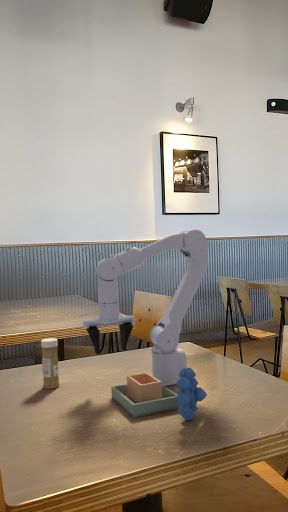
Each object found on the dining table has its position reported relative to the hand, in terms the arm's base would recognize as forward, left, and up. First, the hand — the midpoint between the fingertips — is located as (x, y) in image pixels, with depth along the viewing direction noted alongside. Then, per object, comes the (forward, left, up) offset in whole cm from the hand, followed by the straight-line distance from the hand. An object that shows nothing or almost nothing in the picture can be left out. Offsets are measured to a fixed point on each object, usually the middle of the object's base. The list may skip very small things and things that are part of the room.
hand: (110, 351), depth 123 cm
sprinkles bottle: (+15, -9, -10) cm, 20 cm away
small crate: (-3, +16, -9) cm, 19 cm away
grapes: (-8, +31, -10) cm, 34 cm away
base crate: (-3, +16, -10) cm, 19 cm away
